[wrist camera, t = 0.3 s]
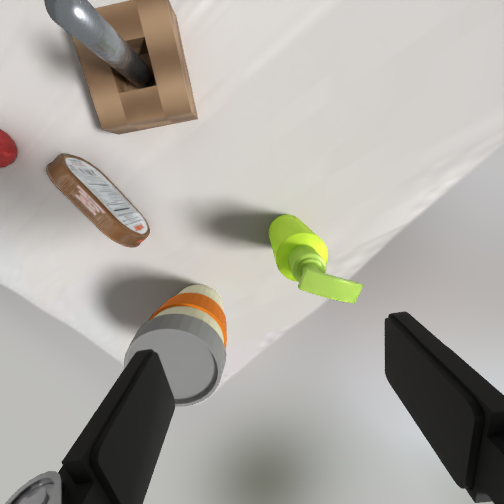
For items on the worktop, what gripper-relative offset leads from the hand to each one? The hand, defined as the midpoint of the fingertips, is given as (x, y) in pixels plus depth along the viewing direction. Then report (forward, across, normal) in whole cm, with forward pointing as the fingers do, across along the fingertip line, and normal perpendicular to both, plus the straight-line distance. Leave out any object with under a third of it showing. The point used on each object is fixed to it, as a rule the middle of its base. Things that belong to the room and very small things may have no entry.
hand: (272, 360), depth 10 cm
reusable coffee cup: (+30, +13, +13) cm, 36 cm away
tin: (+31, +21, -8) cm, 38 cm away
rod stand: (+30, +12, -23) cm, 40 cm away
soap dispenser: (+30, -5, +3) cm, 31 cm away
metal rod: (+30, +12, -23) cm, 39 cm away
